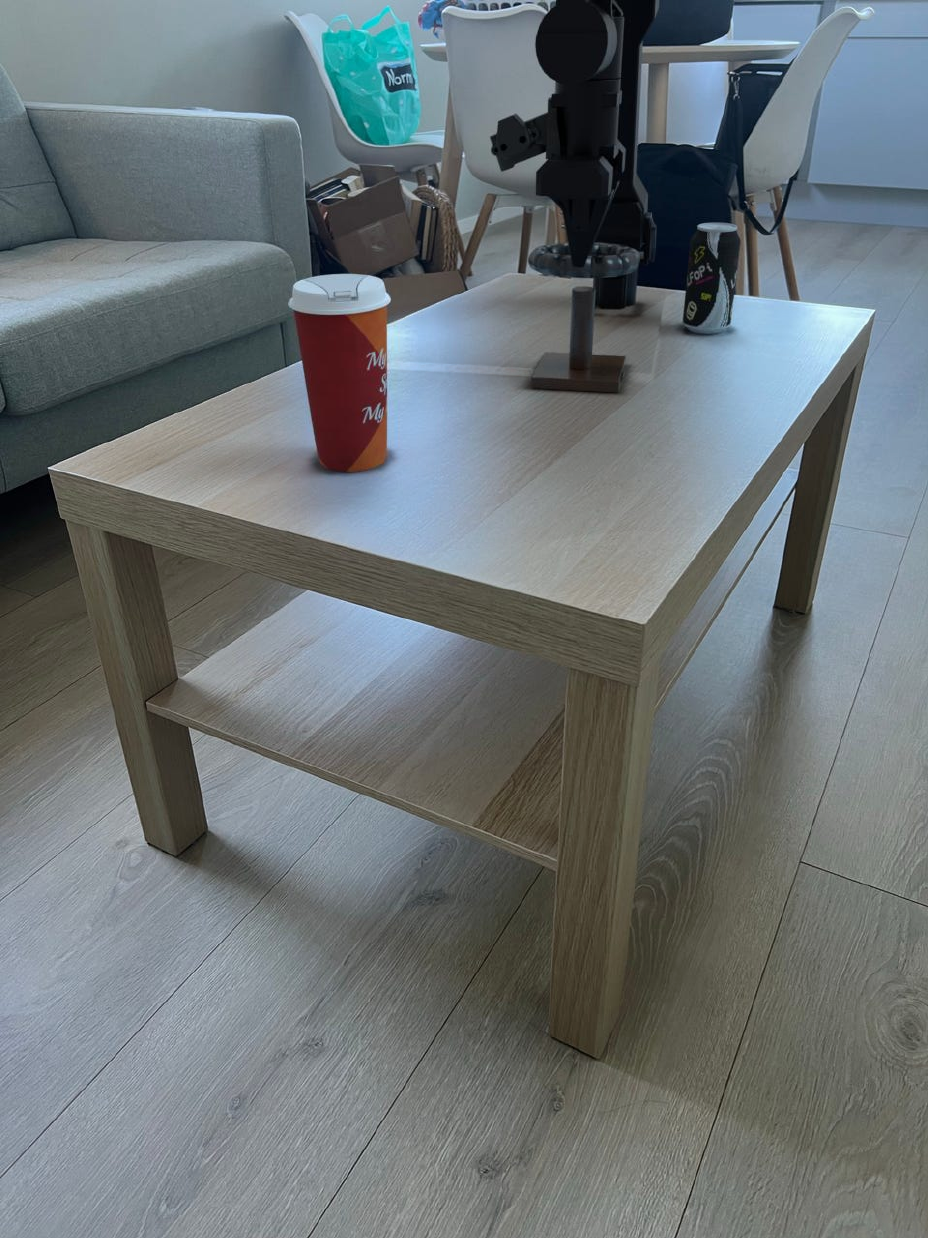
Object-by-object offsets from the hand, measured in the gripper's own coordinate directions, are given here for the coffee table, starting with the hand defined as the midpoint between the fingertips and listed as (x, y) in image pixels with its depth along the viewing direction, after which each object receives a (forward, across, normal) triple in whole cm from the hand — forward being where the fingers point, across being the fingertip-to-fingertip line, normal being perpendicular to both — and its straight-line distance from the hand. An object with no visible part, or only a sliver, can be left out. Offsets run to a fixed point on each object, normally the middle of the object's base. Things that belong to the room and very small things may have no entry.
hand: (579, 264), depth 93 cm
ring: (0, -4, 0) cm, 5 cm away
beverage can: (+13, -26, +13) cm, 31 cm away
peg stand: (+12, -4, 0) cm, 13 cm away
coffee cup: (+13, +22, -17) cm, 30 cm away
